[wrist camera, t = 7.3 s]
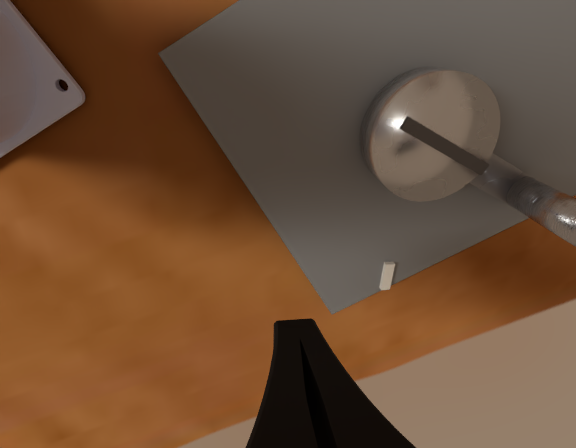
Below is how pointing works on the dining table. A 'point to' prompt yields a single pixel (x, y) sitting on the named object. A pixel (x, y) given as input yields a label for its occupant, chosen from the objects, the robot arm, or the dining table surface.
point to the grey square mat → (350, 112)
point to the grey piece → (451, 146)
